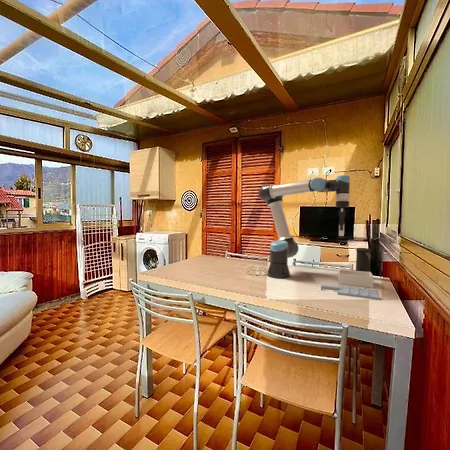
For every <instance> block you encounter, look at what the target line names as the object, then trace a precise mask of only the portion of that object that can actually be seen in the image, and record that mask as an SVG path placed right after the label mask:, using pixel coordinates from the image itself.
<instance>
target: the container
mask: <svg viewBox="0 0 450 450" xmlns="http://www.w3.org/2000/svg"><path fill="white" fill-rule="evenodd" d="M355 251H356V261H355V271H363V272H371V253H372V249H371V248H367V247H357V248H355Z"/></svg>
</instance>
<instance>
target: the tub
mask: <svg viewBox="0 0 450 450" xmlns="http://www.w3.org/2000/svg"><path fill="white" fill-rule="evenodd" d="M337 272H338V273H337V282H338V283H337V284H339V285H343V286H345V285H346V286H353V287H363V288H372V289H373V288H374V279H375V278H374V275H373V273H372V272H371V271H370V272H363V271H356V270H351V269H350V270H349V269H341V268H340V269H338V271H337Z"/></svg>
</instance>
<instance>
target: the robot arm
mask: <svg viewBox="0 0 450 450" xmlns="http://www.w3.org/2000/svg"><path fill="white" fill-rule="evenodd" d="M335 178H336V179H324V178H322V177H314V178H312V179H307V180H300V181H293V182H289V183H288V182H287V183H281V184H264V185H262V186H260V187H259V189H258V191H257V193H258V197H259V199H260V200H261V201H264V202H266V204H267V207H268V208H270V213H271V215H272V219H273V223H274V226H275V230H276V235H277V237H278V239H277V240H273V241H271V242H270V247H269V251H270V252H269V259H270V260H269V266H268V268H267V271H266V272H267V273H266V276H267V277H269V278H274V279H287V278H290V277H291V272H290V268H289V266H288V261H289V260H288V259H290V258H293V257H294V256H297V254H298V252H299V249H300V248H299V245H298V242H296V240H295V239H294V237H293V236H292V235H291V233H290V230H289V227H288V223H287V218H286V216H285V211H284V208H283V205H282V204H283V203H284V200H283V197H284V196H290V195H296V194H303V193H310V192H311V193H312V192H317V193H330V192H335V207H336V208H339V210H338V217H339V219H338V220H339V222H337V225H338V236H339V237H344V235H345V225H346V222H345V217H346V213H347V212H346V211H347V210H346V209H345V208H349V207H350V201H349V200H350V197H351V195H350V189H351V188H350V186H351V184H350V183H351V180H350V176H349V175H347V174H344V175H343V174H342V175H341V174H340V175H337V176H336V177H335Z"/></svg>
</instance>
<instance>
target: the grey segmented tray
mask: <svg viewBox="0 0 450 450" xmlns="http://www.w3.org/2000/svg"><path fill="white" fill-rule="evenodd" d="M320 290H321V291H324V290H329V291H330V290H331V291H332V292H335V293H336V294H337V295H338V296H339V295H340V296H348V297H355V298H356V297H357V298H363V299H371V300H377V301H378V300H379V301H380V300H381V299H380V298H381V296H379V294H378V291H377V290H376V289H370V288H367V287H363V288H361V287H358V286H353V287H352V286H349V285H346V286H345V285H335V284H328V283H320Z"/></svg>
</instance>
